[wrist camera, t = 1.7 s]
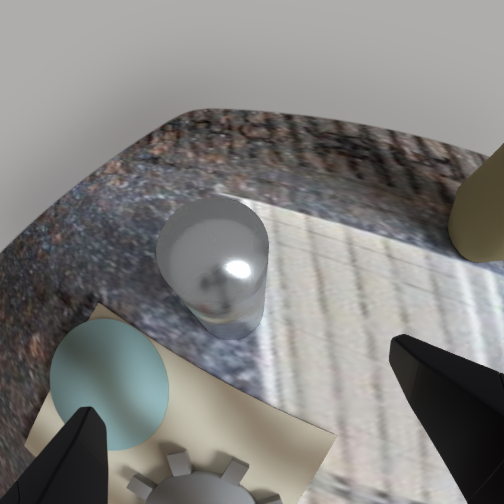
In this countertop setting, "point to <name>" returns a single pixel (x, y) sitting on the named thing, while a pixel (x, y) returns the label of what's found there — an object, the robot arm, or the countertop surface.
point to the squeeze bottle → (480, 213)
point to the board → (175, 423)
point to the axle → (217, 264)
